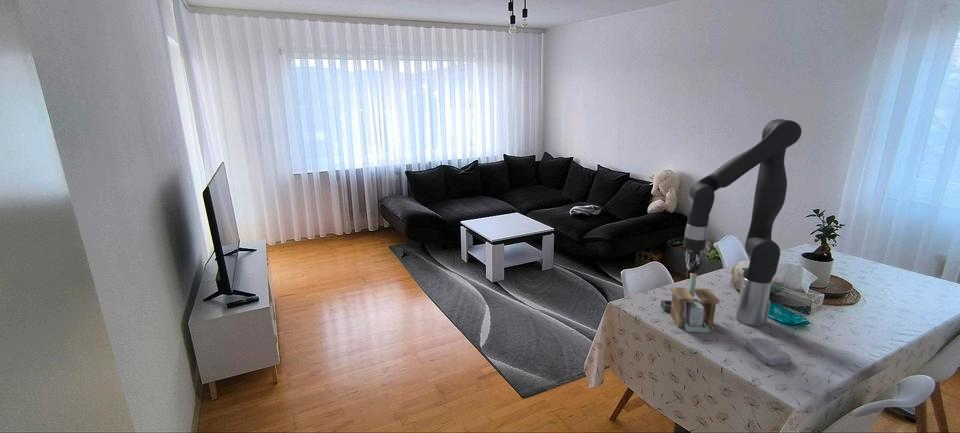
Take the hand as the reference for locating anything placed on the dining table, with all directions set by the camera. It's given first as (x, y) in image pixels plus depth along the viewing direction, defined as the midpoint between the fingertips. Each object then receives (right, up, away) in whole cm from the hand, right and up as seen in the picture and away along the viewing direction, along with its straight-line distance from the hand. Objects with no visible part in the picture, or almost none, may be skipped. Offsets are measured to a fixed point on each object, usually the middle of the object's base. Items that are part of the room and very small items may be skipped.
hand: (689, 278), depth 168 cm
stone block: (+14, -23, -24) cm, 36 cm away
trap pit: (0, -14, +7) cm, 15 cm away
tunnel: (-1, -16, -2) cm, 16 cm away
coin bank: (+39, -8, +28) cm, 49 cm away
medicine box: (-1, -17, -4) cm, 17 cm away
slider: (-1, -17, -5) cm, 17 cm away
